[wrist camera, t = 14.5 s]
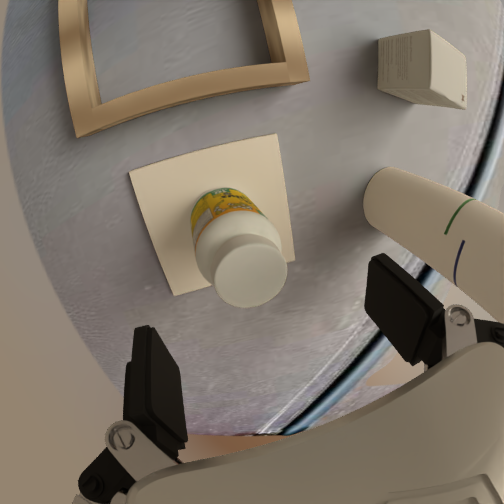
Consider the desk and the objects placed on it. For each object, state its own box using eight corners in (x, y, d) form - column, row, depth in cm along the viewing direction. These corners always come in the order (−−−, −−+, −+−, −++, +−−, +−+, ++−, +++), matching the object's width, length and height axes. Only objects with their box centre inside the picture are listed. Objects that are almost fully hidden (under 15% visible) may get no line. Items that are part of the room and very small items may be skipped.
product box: (417, 58, 20) (467, 56, 13) (415, 105, 22) (467, 112, 16) (376, 37, 18) (429, 27, 12) (375, 89, 21) (430, 89, 14)
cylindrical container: (357, 229, 27) (546, 399, 6) (369, 163, 24) (609, 297, 3) (402, 228, 29) (563, 358, 8) (414, 171, 26) (604, 278, 4)
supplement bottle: (178, 230, 22) (181, 300, 14) (210, 173, 21) (232, 211, 12) (233, 255, 24) (264, 328, 16) (266, 204, 23) (317, 255, 15)
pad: (130, 171, 19) (128, 172, 19) (274, 133, 21) (276, 133, 20) (174, 292, 25) (174, 296, 25) (292, 257, 27) (295, 260, 26)
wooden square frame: (70, -20, 9) (60, -33, 6) (256, -60, 11) (265, -75, 8) (89, 135, 17) (76, 138, 14) (294, 84, 19) (310, 80, 17)
